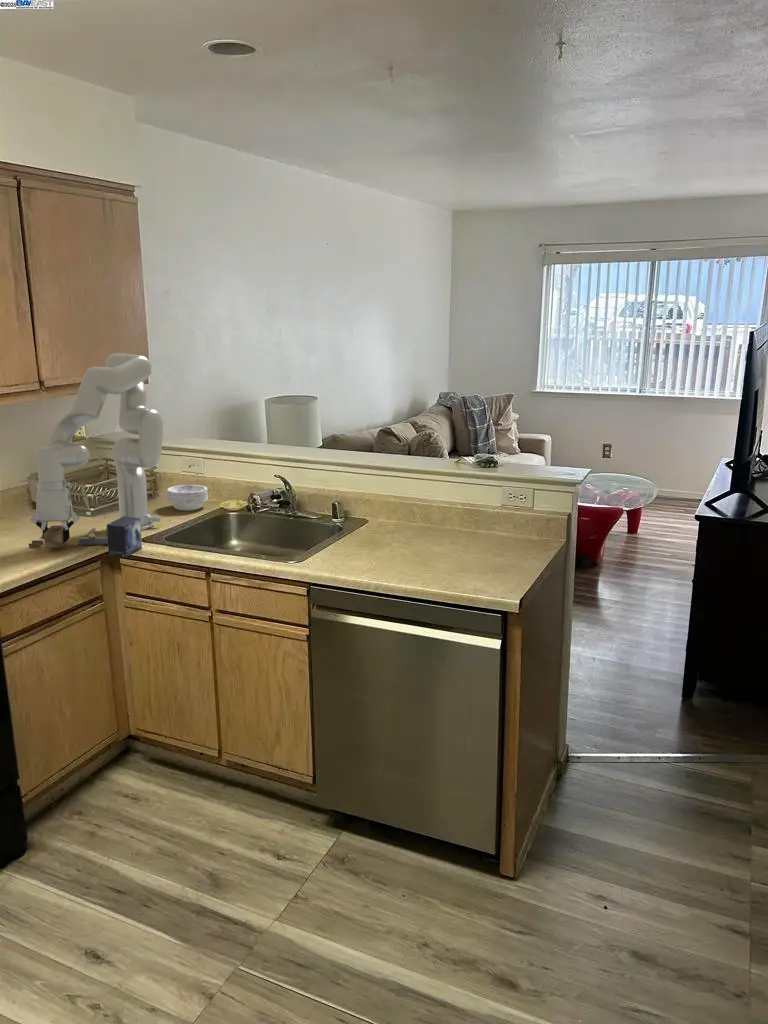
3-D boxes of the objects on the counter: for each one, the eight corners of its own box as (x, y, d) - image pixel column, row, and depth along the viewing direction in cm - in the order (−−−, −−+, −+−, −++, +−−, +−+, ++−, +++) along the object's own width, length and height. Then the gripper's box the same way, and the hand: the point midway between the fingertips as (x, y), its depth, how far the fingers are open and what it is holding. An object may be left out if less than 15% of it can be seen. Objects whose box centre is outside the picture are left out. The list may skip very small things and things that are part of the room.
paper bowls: (191, 501, 313) (190, 481, 311) (216, 507, 304) (215, 487, 302) (159, 508, 301) (158, 488, 299) (184, 515, 292) (183, 494, 290)
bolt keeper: (43, 543, 255) (43, 540, 255) (40, 547, 251) (40, 543, 251) (32, 543, 254) (32, 540, 254) (28, 547, 251) (28, 543, 251)
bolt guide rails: (95, 531, 270) (95, 527, 270) (91, 536, 263) (90, 533, 263) (48, 532, 268) (48, 528, 267) (42, 537, 261) (42, 534, 261)
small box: (126, 558, 242) (124, 526, 240) (107, 556, 244) (105, 524, 241) (143, 548, 252) (141, 517, 250) (124, 547, 254) (122, 515, 251)
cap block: (68, 538, 255) (67, 523, 253) (61, 546, 246) (60, 530, 245) (52, 538, 254) (51, 523, 253) (44, 547, 245) (43, 530, 244)
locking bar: (118, 542, 257) (117, 533, 257) (117, 544, 256) (116, 534, 255) (80, 543, 256) (79, 533, 255) (79, 544, 254) (78, 535, 253)
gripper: (83, 482, 250) (87, 537, 255) (27, 483, 248) (32, 538, 252) (77, 488, 243) (81, 544, 248) (19, 488, 241) (25, 545, 245)
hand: (56, 540), depth 250 cm, fingers closed on cap block, 5 cm apart
